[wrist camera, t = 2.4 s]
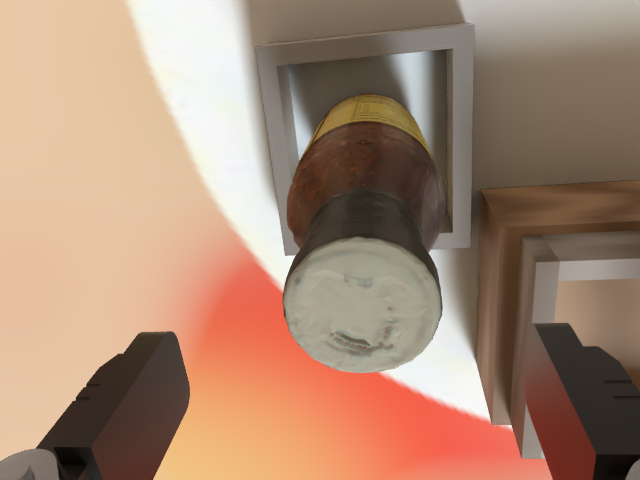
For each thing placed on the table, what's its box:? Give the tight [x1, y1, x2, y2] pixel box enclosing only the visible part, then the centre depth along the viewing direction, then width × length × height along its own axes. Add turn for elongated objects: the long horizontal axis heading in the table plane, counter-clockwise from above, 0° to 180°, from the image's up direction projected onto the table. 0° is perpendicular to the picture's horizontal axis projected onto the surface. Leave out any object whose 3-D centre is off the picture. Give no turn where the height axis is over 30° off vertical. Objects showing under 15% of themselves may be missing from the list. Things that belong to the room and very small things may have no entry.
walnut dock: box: [476, 180, 640, 459], centre depth 29 cm, size 13×13×9 cm
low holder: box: [255, 23, 474, 256], centre depth 29 cm, size 11×12×3 cm
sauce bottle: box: [283, 94, 445, 373], centre depth 22 cm, size 7×6×20 cm
